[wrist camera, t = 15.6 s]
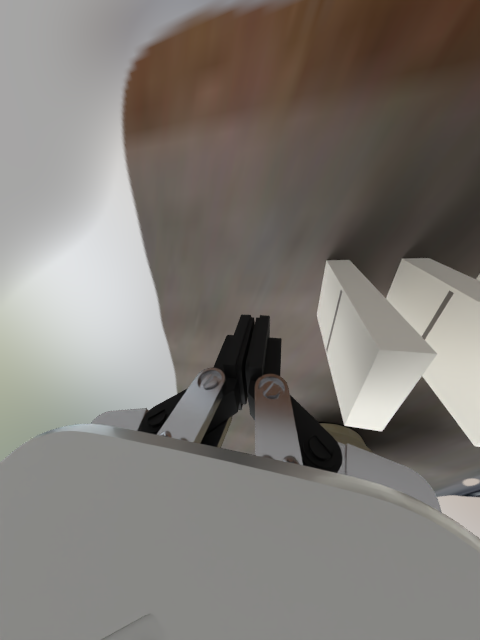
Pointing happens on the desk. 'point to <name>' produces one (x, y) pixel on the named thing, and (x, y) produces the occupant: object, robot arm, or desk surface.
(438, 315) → the domino
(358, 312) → the domino
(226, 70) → the desk surface
